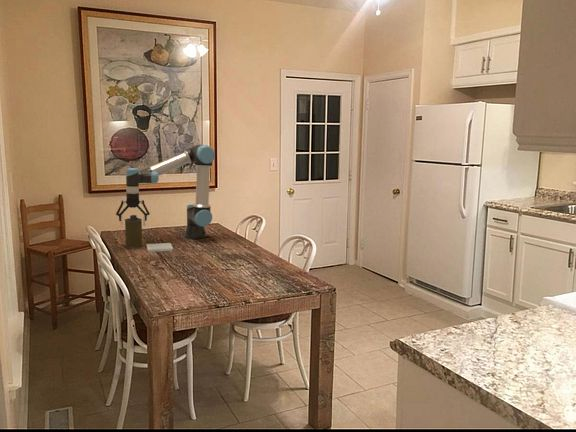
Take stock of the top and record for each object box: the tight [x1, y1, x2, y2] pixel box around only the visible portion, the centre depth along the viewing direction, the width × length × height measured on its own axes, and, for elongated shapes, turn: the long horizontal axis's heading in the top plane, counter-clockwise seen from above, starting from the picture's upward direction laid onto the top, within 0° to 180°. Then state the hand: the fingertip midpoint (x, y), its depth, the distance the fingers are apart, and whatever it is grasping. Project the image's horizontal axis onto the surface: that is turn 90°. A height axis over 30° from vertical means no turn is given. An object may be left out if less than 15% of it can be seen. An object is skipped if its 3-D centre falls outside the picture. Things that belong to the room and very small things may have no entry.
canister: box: [124, 214, 143, 249], centre depth 310 cm, size 11×10×20 cm
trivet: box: [146, 242, 174, 253], centre depth 307 cm, size 15×15×2 cm
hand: (133, 226), depth 309 cm, fingers open, 13 cm apart
